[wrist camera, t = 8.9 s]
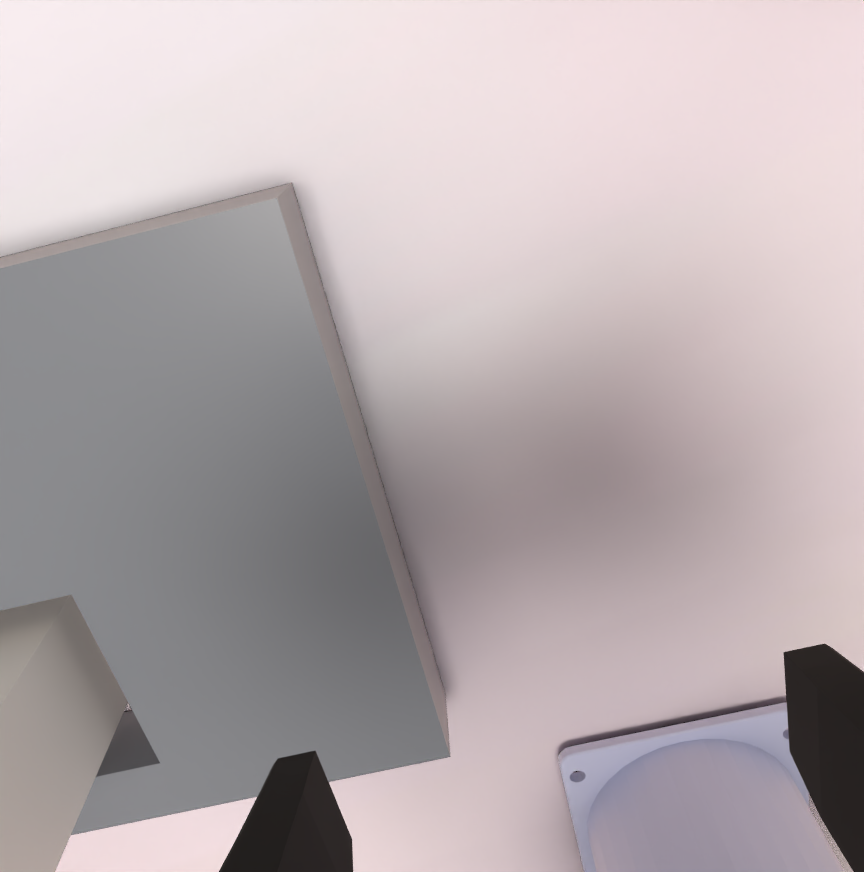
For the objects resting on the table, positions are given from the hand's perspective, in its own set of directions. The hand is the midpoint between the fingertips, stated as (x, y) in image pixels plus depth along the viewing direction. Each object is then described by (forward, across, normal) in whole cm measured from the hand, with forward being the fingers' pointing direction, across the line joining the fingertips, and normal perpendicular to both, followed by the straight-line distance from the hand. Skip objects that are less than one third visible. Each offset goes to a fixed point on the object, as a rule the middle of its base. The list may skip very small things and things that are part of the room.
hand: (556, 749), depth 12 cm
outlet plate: (+10, +11, 0) cm, 15 cm away
